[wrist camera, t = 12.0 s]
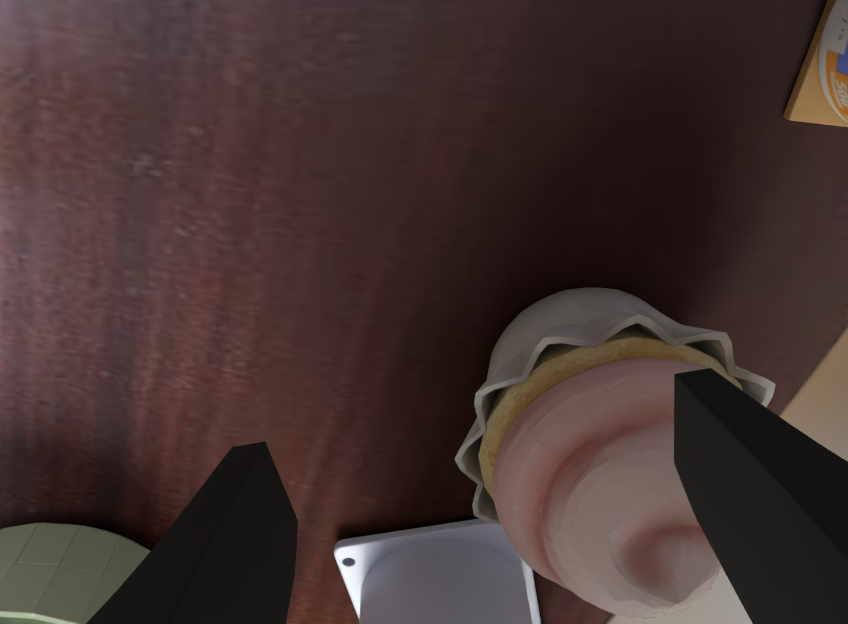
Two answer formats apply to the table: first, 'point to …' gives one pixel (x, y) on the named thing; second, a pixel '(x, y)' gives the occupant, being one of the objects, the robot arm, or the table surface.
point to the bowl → (61, 571)
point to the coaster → (812, 86)
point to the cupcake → (597, 448)
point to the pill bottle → (835, 59)
